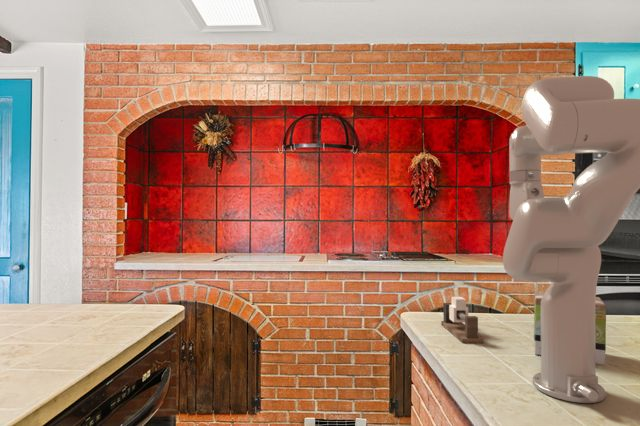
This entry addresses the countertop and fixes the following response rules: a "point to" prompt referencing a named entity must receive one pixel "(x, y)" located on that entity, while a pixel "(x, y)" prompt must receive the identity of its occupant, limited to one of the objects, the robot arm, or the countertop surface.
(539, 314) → the tea box
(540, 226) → the robot arm
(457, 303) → the sleeve
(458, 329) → the rail
